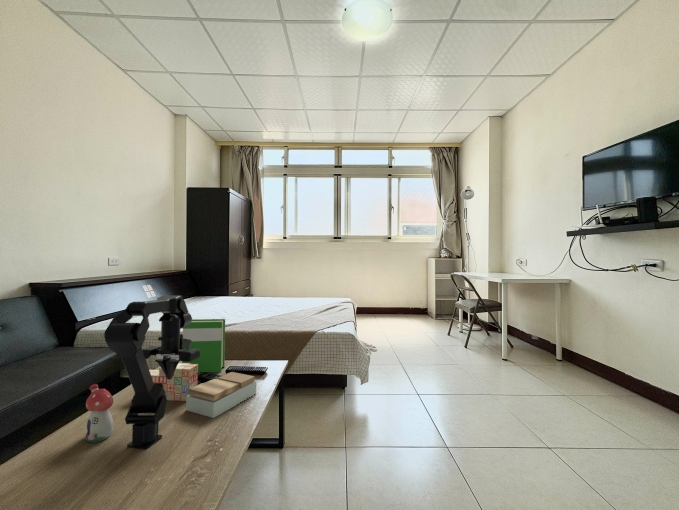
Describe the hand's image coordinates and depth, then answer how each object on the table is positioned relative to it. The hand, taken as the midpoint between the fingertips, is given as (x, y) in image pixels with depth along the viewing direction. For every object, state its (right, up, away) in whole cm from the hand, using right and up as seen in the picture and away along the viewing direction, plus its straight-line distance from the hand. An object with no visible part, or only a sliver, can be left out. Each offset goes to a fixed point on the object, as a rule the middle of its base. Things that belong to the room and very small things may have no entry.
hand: (169, 379), depth 108 cm
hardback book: (-8, -14, +47) cm, 50 cm away
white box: (+13, -13, +13) cm, 23 cm away
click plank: (+12, -8, +9) cm, 17 cm away
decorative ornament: (-15, -13, -12) cm, 23 cm away
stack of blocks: (-10, -14, +17) cm, 24 cm away
